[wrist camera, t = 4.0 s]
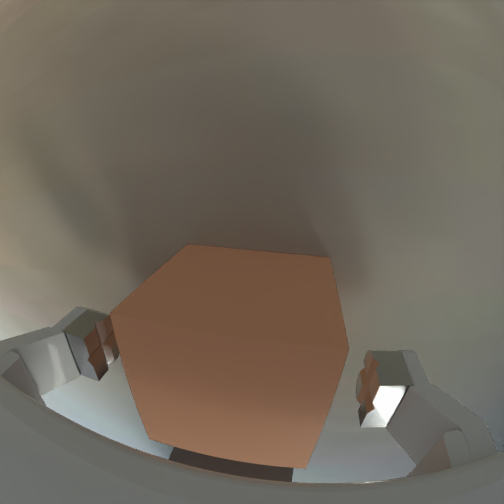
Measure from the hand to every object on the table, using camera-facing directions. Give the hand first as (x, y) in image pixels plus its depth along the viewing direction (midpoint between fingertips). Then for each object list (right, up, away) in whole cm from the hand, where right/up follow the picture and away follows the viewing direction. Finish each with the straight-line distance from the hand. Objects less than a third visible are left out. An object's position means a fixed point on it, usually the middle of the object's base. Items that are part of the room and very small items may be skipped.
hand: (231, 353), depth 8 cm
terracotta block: (+1, +1, +2) cm, 3 cm away
